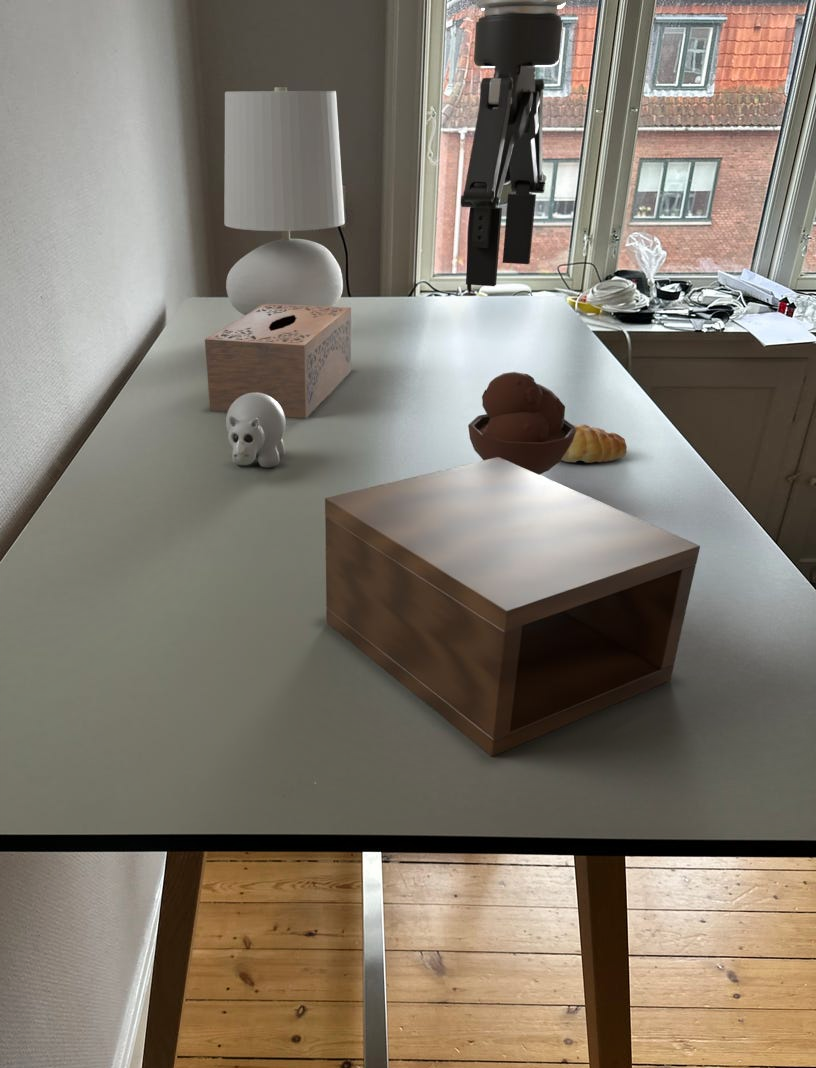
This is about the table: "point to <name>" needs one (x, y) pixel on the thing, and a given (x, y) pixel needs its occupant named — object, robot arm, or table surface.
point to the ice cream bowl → (521, 424)
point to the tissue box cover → (280, 356)
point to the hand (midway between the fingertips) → (499, 273)
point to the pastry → (595, 446)
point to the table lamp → (283, 195)
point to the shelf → (505, 596)
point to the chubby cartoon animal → (256, 430)
